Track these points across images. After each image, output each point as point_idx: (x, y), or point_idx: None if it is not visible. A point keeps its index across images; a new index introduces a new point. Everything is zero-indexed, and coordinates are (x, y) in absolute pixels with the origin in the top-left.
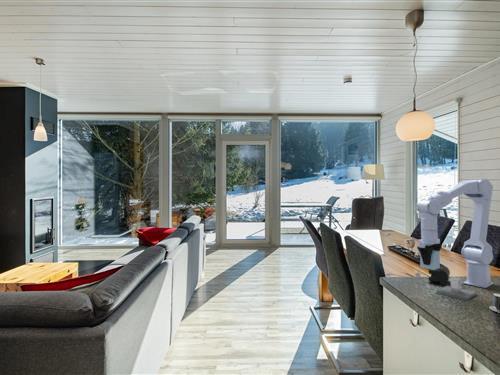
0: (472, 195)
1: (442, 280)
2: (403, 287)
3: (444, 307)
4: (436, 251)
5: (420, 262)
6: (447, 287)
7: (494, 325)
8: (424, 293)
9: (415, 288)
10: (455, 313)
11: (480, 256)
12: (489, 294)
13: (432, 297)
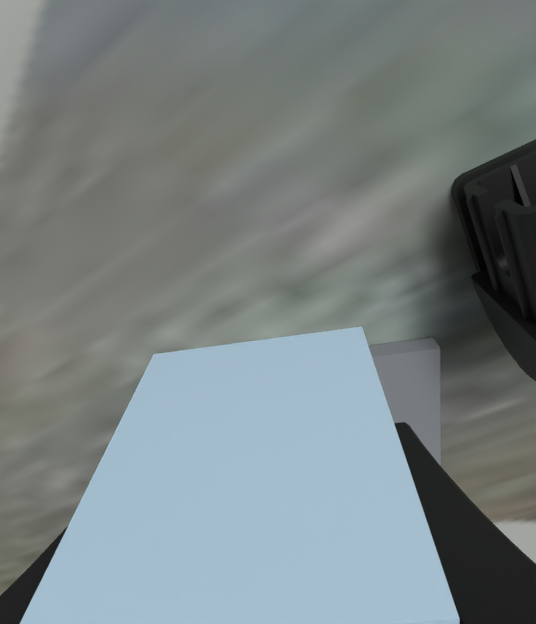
0: None
1: (493, 311)
2: (97, 122)
3: (34, 501)
4: None
5: (131, 408)
6: (384, 376)
7: None
8: (136, 324)
9: (182, 207)
10: (19, 552)
11: None
12: (502, 520)
13: (114, 395)
